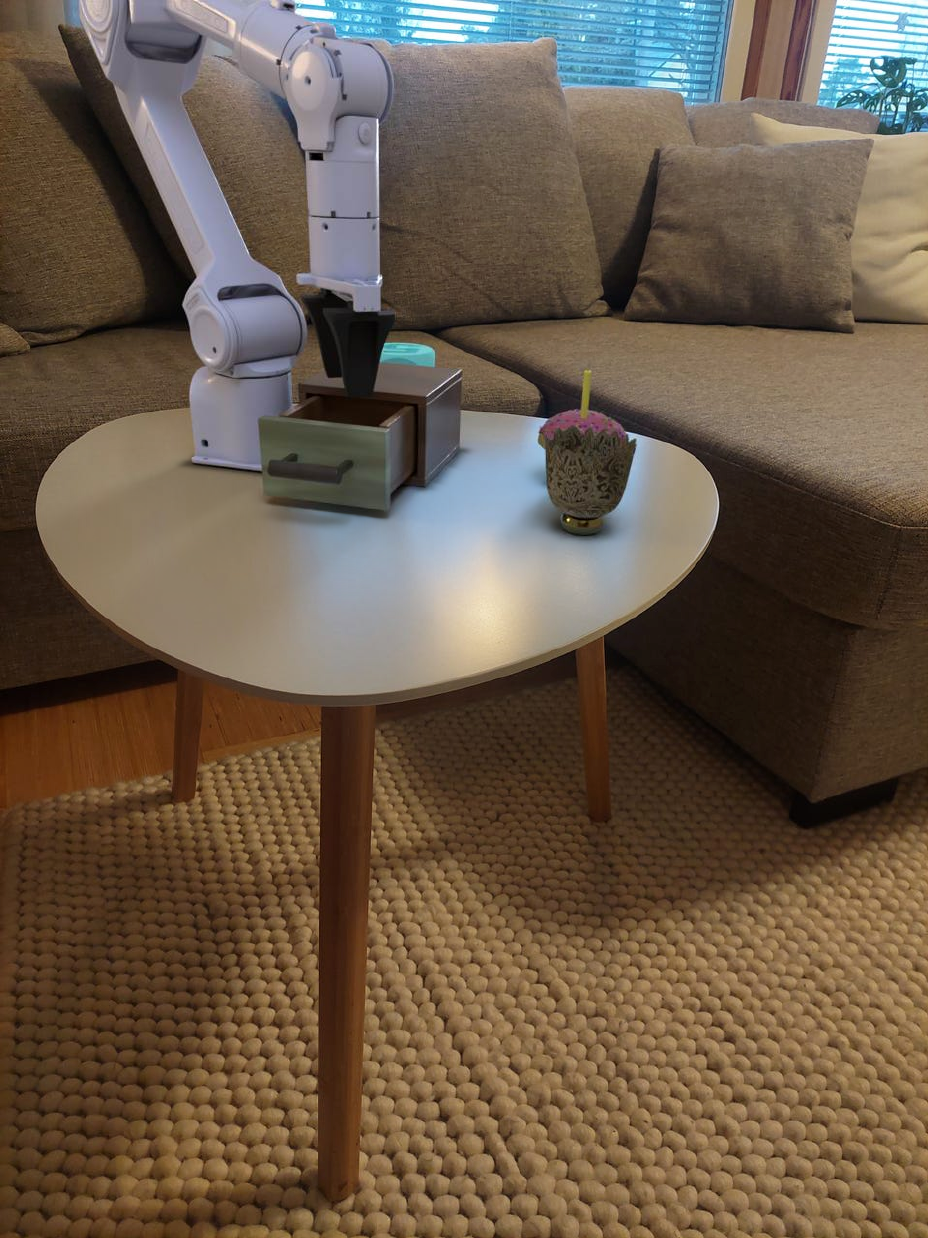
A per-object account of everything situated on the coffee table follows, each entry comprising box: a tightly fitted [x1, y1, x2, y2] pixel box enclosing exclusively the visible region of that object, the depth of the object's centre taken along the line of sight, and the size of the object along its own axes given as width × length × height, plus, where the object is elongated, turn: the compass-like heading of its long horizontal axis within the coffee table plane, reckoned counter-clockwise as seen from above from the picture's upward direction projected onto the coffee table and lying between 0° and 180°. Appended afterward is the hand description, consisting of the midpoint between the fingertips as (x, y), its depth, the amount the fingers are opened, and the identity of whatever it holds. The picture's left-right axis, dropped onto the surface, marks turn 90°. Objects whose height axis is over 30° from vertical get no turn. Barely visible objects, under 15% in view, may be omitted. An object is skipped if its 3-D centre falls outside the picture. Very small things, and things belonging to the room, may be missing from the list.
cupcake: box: [537, 361, 628, 450], centre depth 83 cm, size 9×8×12 cm
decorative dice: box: [380, 342, 436, 367], centre depth 103 cm, size 8×8×8 cm
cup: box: [544, 425, 638, 536], centre depth 73 cm, size 8×7×8 cm
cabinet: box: [297, 362, 463, 488], centre depth 88 cm, size 13×13×9 cm
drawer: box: [258, 394, 419, 512], centre depth 77 cm, size 16×11×7 cm
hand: (348, 386), depth 77 cm, fingers open, 7 cm apart
